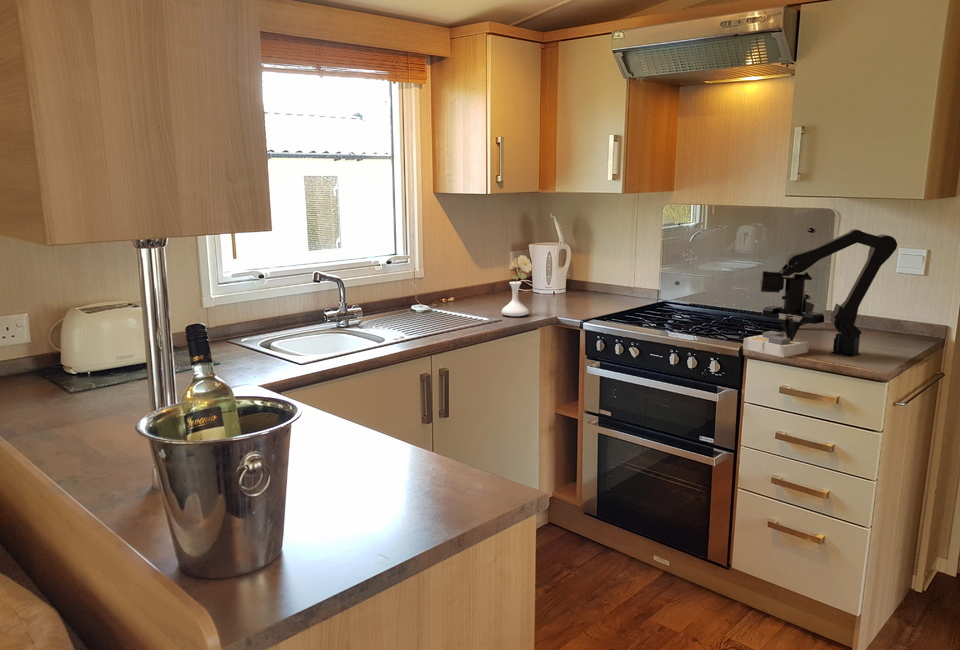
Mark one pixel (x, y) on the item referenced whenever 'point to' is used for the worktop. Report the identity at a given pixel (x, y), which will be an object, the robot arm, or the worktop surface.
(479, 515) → the worktop surface
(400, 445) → the worktop surface
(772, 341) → the charcoal key near
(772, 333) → the charcoal key far
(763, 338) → the ochre key
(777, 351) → the keypad
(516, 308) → the flower in vase
